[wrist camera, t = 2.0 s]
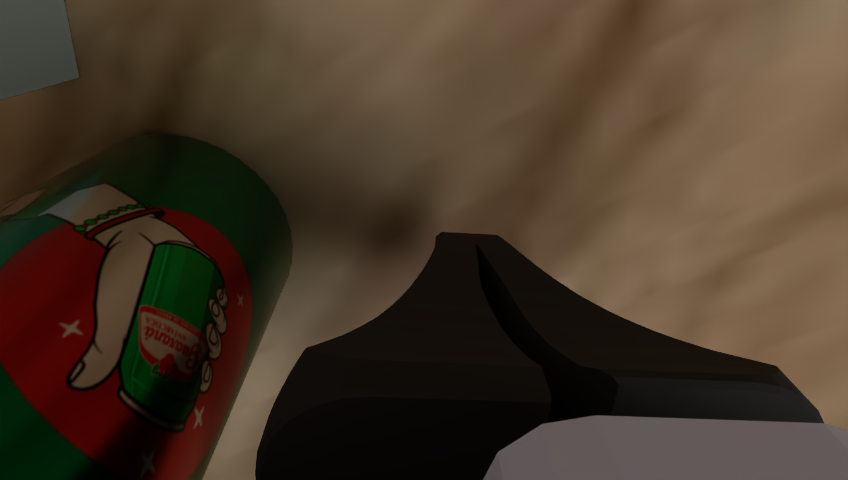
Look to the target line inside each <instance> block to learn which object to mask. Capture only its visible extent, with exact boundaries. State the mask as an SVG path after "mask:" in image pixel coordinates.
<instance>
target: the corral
mask: <svg viewBox="0 0 848 480" xmlns="http://www.w3.org/2000/svg"><path fill="white" fill-rule="evenodd" d="M77 78H79V74H78V69H77V64H76V58H75V53H74V48H73V43H72V38H71V33H70V28H69V23H68V18H67V13H66V8H65V3H64V0H0V100H2V99H6V98H10V97H13V96H17V95H20V94H24V93H27V92H31V91H34V90H38V89H41V88H45V87H48V86H52V85H56V84H59V83H63V82H66V81H70V80H73V79H77Z"/></svg>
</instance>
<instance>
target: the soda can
mask: <svg viewBox="0 0 848 480" xmlns="http://www.w3.org/2000/svg"><path fill="white" fill-rule="evenodd" d="M291 262H292V240H291V232H290V228H289V225H288V222H287V218H286V215H285V213H284V211H283V209H282V207H281V205H280V203H279V201H278V199H277V198H276V196H275V195H274V193H273V192H272V191H271V189H270V188H269V186H268V185H267V184H266V183H265V182H264V181H263V180H262V179H261V177H260V176H259V175H258V174H257V173H256V172H255V171H254V170H252V169H251V168H250V167H249V166H247V165H246V164H245V163H244V162H243V161H241V160H240V159H238V158H237V157H235V156H233V155H232V154H230V153H228V152H227V151H225V150H223V149H221V148H219V147H216V146H214V145H212V144H209V143H207V142H204V141H201V140H197V139H193V138H190V137H185V136H177V135H170V134H160V135H145V136H140V137H134V138H130V139H127V140H125V141H122V142H119V143H116V144H114V145H112V146H111V147H109V148H107V149H105V150H103V151H101V152H100V153H98V154H96V155H94V156H92V157H90V158H89V159H87V160H85V161H83V162H81V163H79V164H77V165H76V166H74V167H72V168H70V169H68V170H66V171H65V172H63V173H61V174H59V175H57V176H55V177H54V178H52V179H50V180H48V181H46V182H44V183H42V184H41V185H39V186H37V187H35V188H33V189H31V190H30V191H28V192H26V193H24V194H22V195H20V196H18V197H17V198H15V199H13V200H11V201H9V202H7V203H6V204H4V205H2V206H0V480H202V478H203V476H204V474H205V471H206V469H207V467H208V464H209V462H210V460H211V457H212V455H213V452H214V450H215V448H216V445H217V443H218V441H219V438H220V436H221V434H222V431H223V429H224V426H225V424H226V422H227V419H228V417H229V415H230V412H231V410H232V408H233V405H234V403H235V400H236V398H237V396H238V393H239V391H240V389H241V386H242V384H243V382H244V379H245V377H246V374H247V372H248V370H249V367H250V365H251V363H252V360H253V358H254V356H255V353H256V351H257V348H258V346H259V344H260V341H261V339H262V337H263V334H264V332H265V330H266V327H267V325H268V322H269V320H270V318H271V315H272V313H273V311H274V308H275V306H276V304H277V301H278V299H279V297H280V294H281V292H282V289H283V287H284V285H285V282H286V280H287V278H288V275H289V271H290V266H291Z"/></svg>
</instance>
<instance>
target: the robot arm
mask: <svg viewBox="0 0 848 480" xmlns="http://www.w3.org/2000/svg"><path fill="white" fill-rule="evenodd" d="M255 476H256V480H848V430H846V429H842V428H839V427H835V426H832V425H828V424H824V422H823V420H822V418H821V416H820V413H819V411H818V410H817V409H816V408H815V407H814V405H813V404H812V403H811V402H810V401H809V400H808V399H807V398H806V397H805V396H804V395H803V394H802V393H801V392H800V391H799V390H798V388H797V387H796V386H795V385H794V384H793V383H792V382H791V381H790V380H789V379H788V378H787V377H786V376H785V375H784V374H783V372H782V371H781V370H780V369H779V368H778V367H777V366H774V365H770V364H766V363H762V362H758V361H754V360H750V359H746V358H741V357H737V356H733V355H729V354H725V353H721V352H717V351H713V350H710V349H706V348H703V347H700V346H697V345H694V344H690V343H687V342H684V341H681V340H678V339H675V338H672V337H669V336H666V335H664V334H661V333H658V332H655V331H653V330H650V329H648V328H645V327H643V326H641V325H638V324H636V323H634V322H631V321H629V320H626V319H624V318H622V317H620V316H618V315H616V314H613V313H611V312H609V311H607V310H605V309H604V308H602V307H600V306H598V305H596V304H594V303H592V302H591V301H589V300H587V299H585V298H583V297H582V296H580V295H578V294H577V293H575V292H573V291H572V290H570V289H569V288H567V287H566V286H564V285H563V284H561V283H560V282H558V281H557V280H555V279H554V278H552V277H551V276H550V275H548V274H547V273H545V272H544V271H543V270H541V269H540V268H539V267H537V266H536V265H535V264H534V263H532V262H531V261H530V260H528V259H527V258H526V257H525V256H524V255H522V254H521V253H520V252H519V251H517V250H516V249H515V248H514V247H512V246H511V245H510V244H509V243H507V242H506V241H505V240H504V239H502V238H501V237H499V236H498V235H488V234H468V233H448V232H441V233H440V234H439V235H437V236H436V242H435V248H434V250H433V253H432V255H431V257H430V258H429V260H428V262H427V264H426V266H425V267H424V269H423V270H422V272H421V273H420V274H419V276H418V277H417V279H416V280H415V281H414V283H413V284H412V285H411V286H410V288H409V289H408V290H407V291H406V292H405V293H404V294H403V295H402V296H401V297H400V298H399V299H398V300H397V301H396V302H395V303H394V304H393V305H392V306H391V307H389V308H388V309H387V310H386V311H384V312H383V313H382V314H381V315H379V316H378V317H376V318H375V319H373V320H372V321H370V322H368V323H366V324H365V325H363V326H361V327H359V328H357V329H355V330H353V331H351V332H349V333H346V334H344V335H342V336H339V337H336V338H334V339H331V340H328V341H325V342H323V343H320V344H317V345H314V346H311V347H307V348H306V349H305V350H304V351H303V353H302V355H301V356H300V358H299V359H298V361H297V362H296V364H295V366H294V367H293V369H292V371H291V372H290V374H289V376H288V378H287V379H286V381H285V383H284V385H283V387H282V389H281V391H280V393H279V395H278V397H277V399H276V401H275V403H274V405H273V407H272V410H271V412H270V414H269V417H268V420H267V423H266V426H265V429H264V433H263V436H262V439H261V442H260V445H259V448H258V451H257V460H256V471H255Z"/></svg>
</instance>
